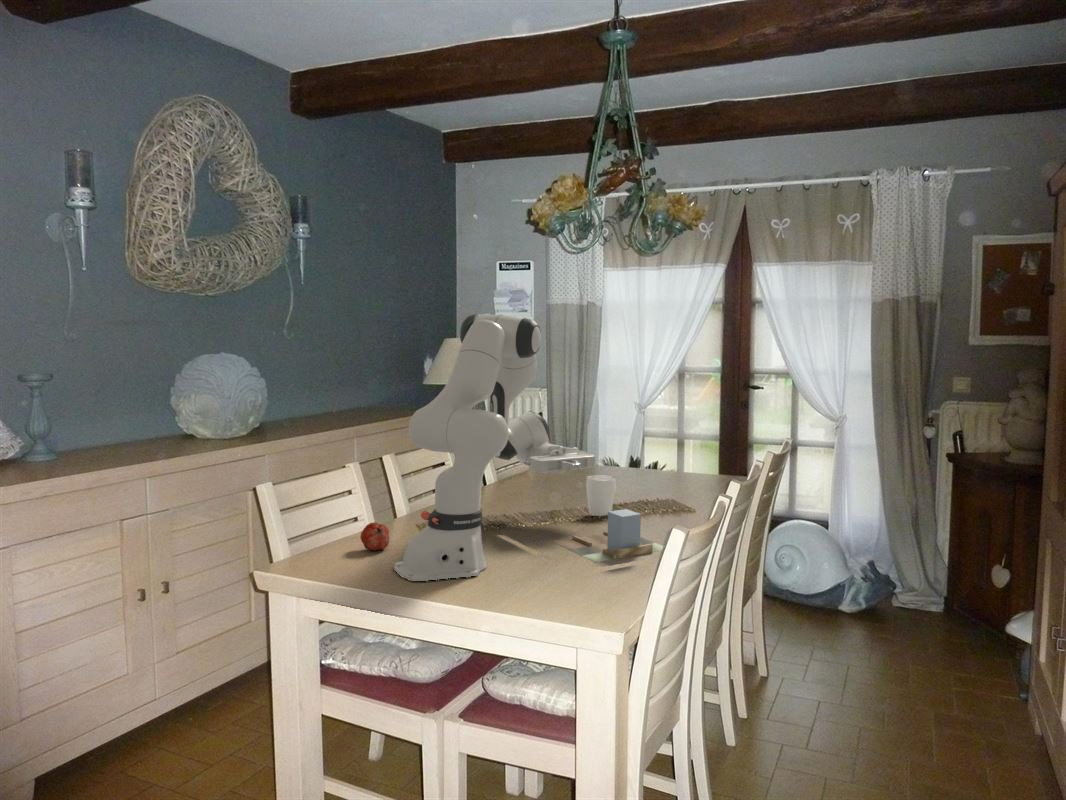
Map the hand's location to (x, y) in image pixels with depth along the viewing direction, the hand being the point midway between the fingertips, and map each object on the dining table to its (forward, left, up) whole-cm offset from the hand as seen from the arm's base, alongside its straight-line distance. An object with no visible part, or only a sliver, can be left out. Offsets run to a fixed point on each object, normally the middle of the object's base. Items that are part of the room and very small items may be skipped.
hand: (577, 467), depth 221 cm
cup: (+18, +13, -19) cm, 30 cm away
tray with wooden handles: (0, -17, -19) cm, 25 cm away
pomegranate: (-55, +12, -20) cm, 60 cm away
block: (0, -22, -18) cm, 29 cm away
